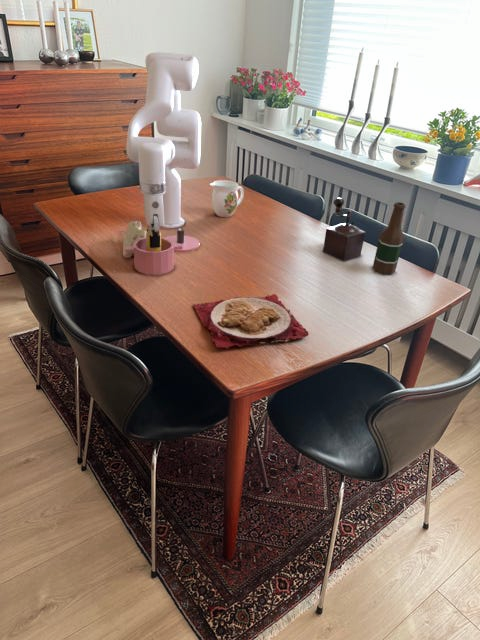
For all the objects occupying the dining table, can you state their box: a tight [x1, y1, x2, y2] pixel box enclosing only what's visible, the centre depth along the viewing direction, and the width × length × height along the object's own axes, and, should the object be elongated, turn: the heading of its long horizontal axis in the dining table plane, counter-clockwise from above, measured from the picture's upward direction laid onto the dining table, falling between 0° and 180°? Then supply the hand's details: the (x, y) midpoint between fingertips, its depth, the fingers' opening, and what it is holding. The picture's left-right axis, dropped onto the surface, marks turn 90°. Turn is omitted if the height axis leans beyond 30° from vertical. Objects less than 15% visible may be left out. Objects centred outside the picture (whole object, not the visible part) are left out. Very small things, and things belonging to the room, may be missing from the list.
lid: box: [164, 227, 201, 252], centre depth 175 cm, size 14×14×6 cm
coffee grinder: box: [322, 197, 366, 262], centre depth 178 cm, size 16×11×18 cm
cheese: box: [122, 220, 147, 259], centre depth 168 cm, size 15×7×15 cm
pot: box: [125, 236, 182, 276], centre depth 158 cm, size 13×18×8 cm
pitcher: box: [209, 179, 245, 218], centre depth 204 cm, size 11×18×14 cm, turn 130°
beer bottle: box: [372, 201, 406, 276], centre depth 164 cm, size 8×8×24 cm
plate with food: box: [192, 293, 310, 349], centre depth 134 cm, size 24×26×3 cm
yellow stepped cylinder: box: [146, 227, 162, 252], centre depth 156 cm, size 5×5×13 cm
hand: (153, 243), depth 155 cm, fingers closed on yellow stepped cylinder, 4 cm apart
